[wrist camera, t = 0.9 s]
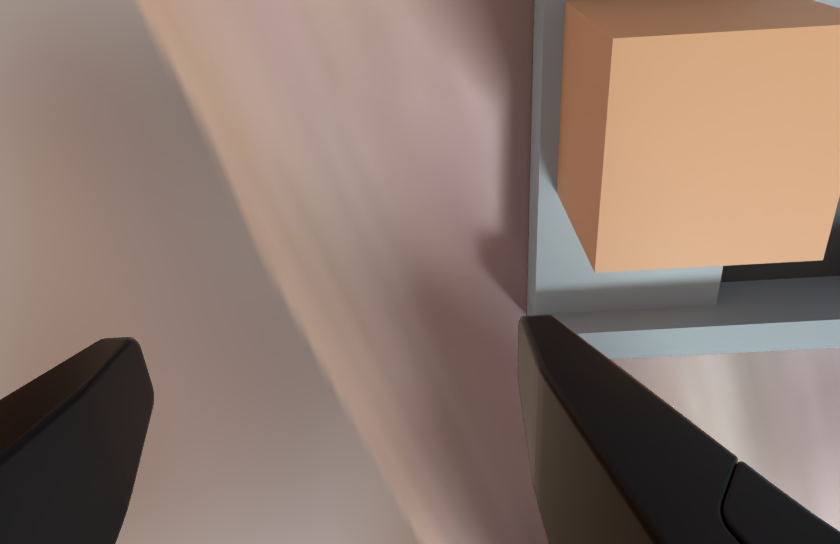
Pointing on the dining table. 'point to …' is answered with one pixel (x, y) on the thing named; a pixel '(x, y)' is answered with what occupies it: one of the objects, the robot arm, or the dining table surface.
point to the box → (663, 288)
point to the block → (700, 131)
